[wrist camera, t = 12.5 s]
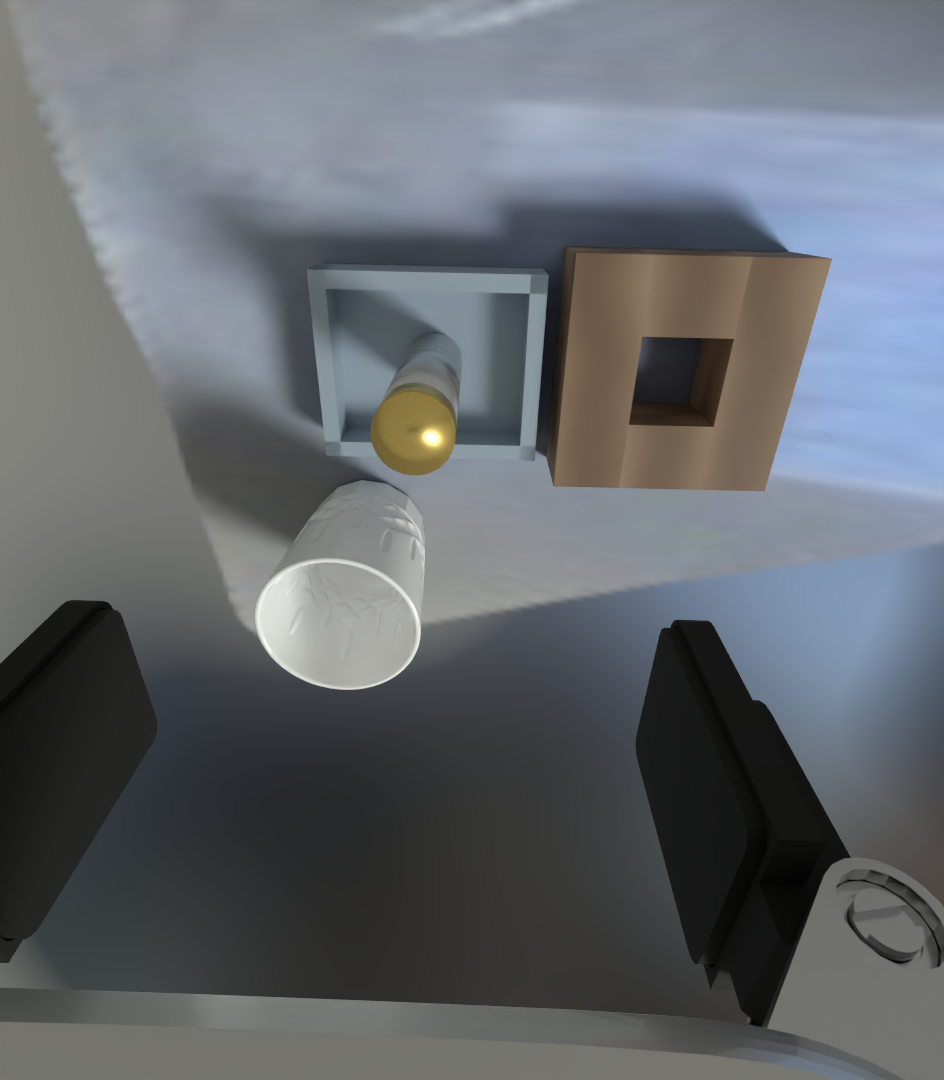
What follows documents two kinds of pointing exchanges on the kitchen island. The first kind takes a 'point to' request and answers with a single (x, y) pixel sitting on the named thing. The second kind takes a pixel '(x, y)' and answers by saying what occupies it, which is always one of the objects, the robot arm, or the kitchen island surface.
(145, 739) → the robot arm
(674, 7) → the kitchen island surface
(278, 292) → the kitchen island surface
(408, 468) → the pin
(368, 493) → the white cup
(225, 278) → the kitchen island surface
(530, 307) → the tray
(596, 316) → the socket block
